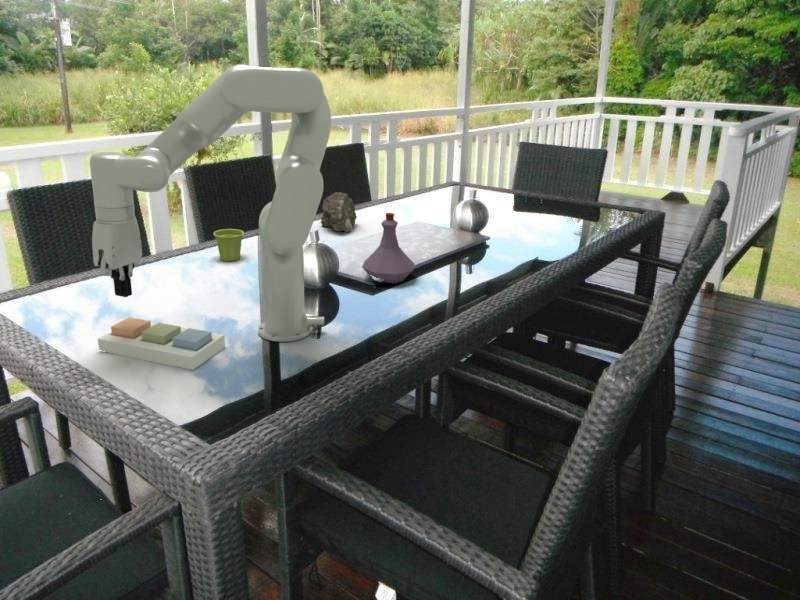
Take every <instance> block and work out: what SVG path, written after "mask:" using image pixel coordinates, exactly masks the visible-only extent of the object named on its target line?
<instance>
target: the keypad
mask: <svg viewBox="0 0 800 600" xmlns="http://www.w3.org/2000/svg"><path fill="white" fill-rule="evenodd" d="M150 322H151V327H152V326H153V325H155V324H157V323H158V322H156V321H150ZM180 327H181V333H182V332H183V331H185V330H187V329H188V328H189V327H182V326H180ZM225 339H226V338H225V334H222V333H216V332H212V341H211V342H210V343H208V344H207V345H205V346H204V347H202V348H201V349H200V350H198V351H193V350H188V349H182V348H177V347H173V340H172V341H171V342H169V343H168V344H166V345H161V344H156V343H151V342H146V341H142V335H141V336H139V337H137V338H135V339H130V338H125V337H120V336H114V335H112V331H109V332H108V333H105V334H104V335H102V336H101V337H99V338H97V343H98V349H99V350H102V351H105V352H104V353H106V352H110V353H109V354H111V353H114V354H113V355H116V354H118V355H117V356H121V355H123V356H122V357H126V356H127V358H131V357H132V359H137V360H143V361H147V362H150V363H151V362H153V363H157V364H162V365H167V366H171V367H172V366H173V367H175V368H176V367H177V368H182V369H187V370H191V371H194V370H195V369H197V368H198V367H199V366H201V365H202V364H204V363H205V362H206V361H208V360H209V359H211V358H212V357H213V356H215V355H216V354H218V353H219V352H221V351H222V350H223V349H225V348H226V340H225ZM99 350H98V351H99Z"/></svg>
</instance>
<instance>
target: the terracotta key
mask: <svg viewBox="0 0 800 600" xmlns="http://www.w3.org/2000/svg"><path fill="white" fill-rule="evenodd" d="M151 322H152V321H150V320H147V319H141V318H140V319H139V318H135V317H127V318H125V319H123V320H121V321H119V322H117V323H115V324H113V325H111V327H110V330H111V331H112V335H114V336H120V337H125V338H130V339H135V338H137V337H139V336H141V332H143V331H144V330H146V329H148V328H150V327H151ZM111 331H110V332H111Z"/></svg>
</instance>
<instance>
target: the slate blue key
mask: <svg viewBox="0 0 800 600" xmlns="http://www.w3.org/2000/svg"><path fill="white" fill-rule="evenodd" d="M187 328H188V329H187V330H185V331H183V332H182V333H180V334H178V335H177V336H175V337H173V338H172V339H173V347H177V348H182V349H188V350H193V351H198V350H200V349H201V348H202V347H204V346H205V345H207V344H208V343H210V342H211V341H212V333H213V332H212V331H207V330H201V329H196V328H190V327H187Z"/></svg>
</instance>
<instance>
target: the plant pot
mask: <svg viewBox="0 0 800 600" xmlns="http://www.w3.org/2000/svg"><path fill="white" fill-rule="evenodd" d="M244 233H245V232H244V230H242V229H235V228H225V229H218V230H215V231H213V236H214V238H215V241H216V242H217V244H216V245H217V249H218V254H219V259H220V260H222V261H223V260H224V262H232V261H238V260H240V259H241V249H242V240H243V236H244Z"/></svg>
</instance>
